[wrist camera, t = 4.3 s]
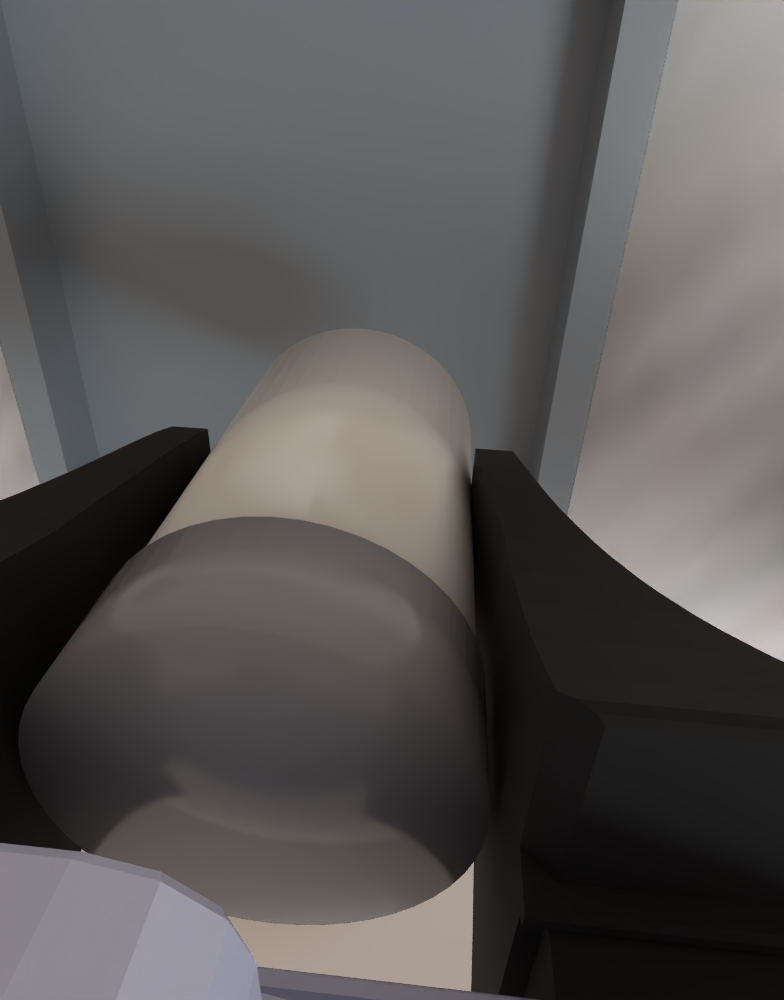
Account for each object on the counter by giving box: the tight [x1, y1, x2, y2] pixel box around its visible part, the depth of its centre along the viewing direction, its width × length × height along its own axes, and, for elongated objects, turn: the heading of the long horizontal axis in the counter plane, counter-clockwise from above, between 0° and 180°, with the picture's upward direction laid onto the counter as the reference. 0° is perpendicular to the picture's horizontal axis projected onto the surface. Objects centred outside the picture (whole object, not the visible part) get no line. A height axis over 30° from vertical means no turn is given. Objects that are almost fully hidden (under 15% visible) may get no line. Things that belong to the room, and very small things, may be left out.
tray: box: [0, 0, 678, 515], centre depth 18 cm, size 16×16×2 cm
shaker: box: [18, 328, 490, 925], centre depth 10 cm, size 5×5×8 cm
